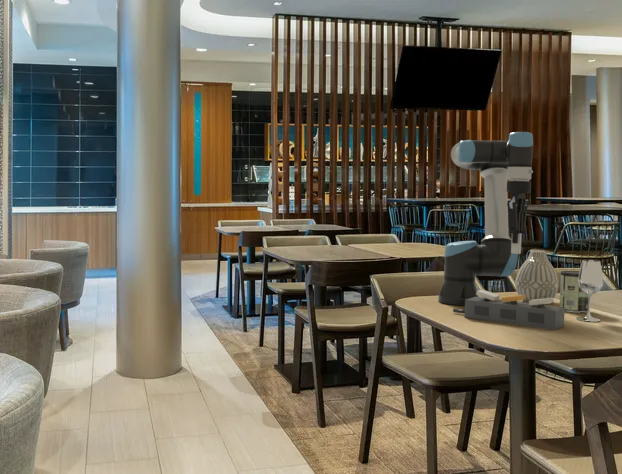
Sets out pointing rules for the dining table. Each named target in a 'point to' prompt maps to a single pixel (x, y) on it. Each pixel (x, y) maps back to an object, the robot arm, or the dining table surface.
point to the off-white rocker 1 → (488, 295)
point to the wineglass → (590, 283)
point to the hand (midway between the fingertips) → (515, 253)
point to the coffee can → (572, 293)
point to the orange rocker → (513, 298)
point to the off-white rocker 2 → (541, 301)
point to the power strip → (514, 313)
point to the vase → (537, 277)
